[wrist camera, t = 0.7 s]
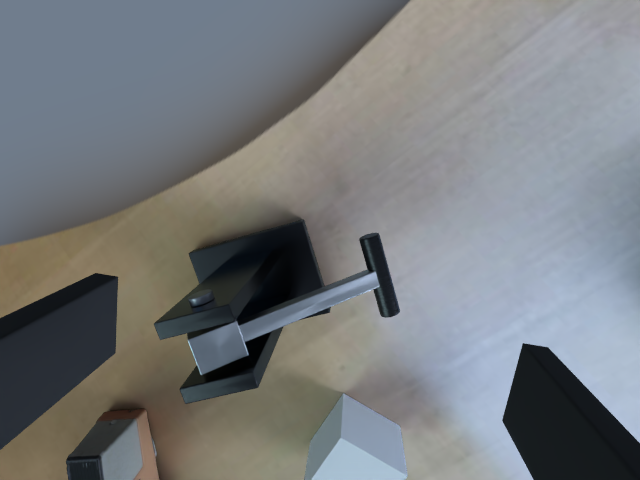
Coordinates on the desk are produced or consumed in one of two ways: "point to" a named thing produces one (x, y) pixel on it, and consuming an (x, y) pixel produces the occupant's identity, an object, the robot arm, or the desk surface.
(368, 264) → the lever
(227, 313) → the black lever stand
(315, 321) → the desk surface
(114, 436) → the electronic device
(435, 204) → the desk surface
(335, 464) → the white cube
